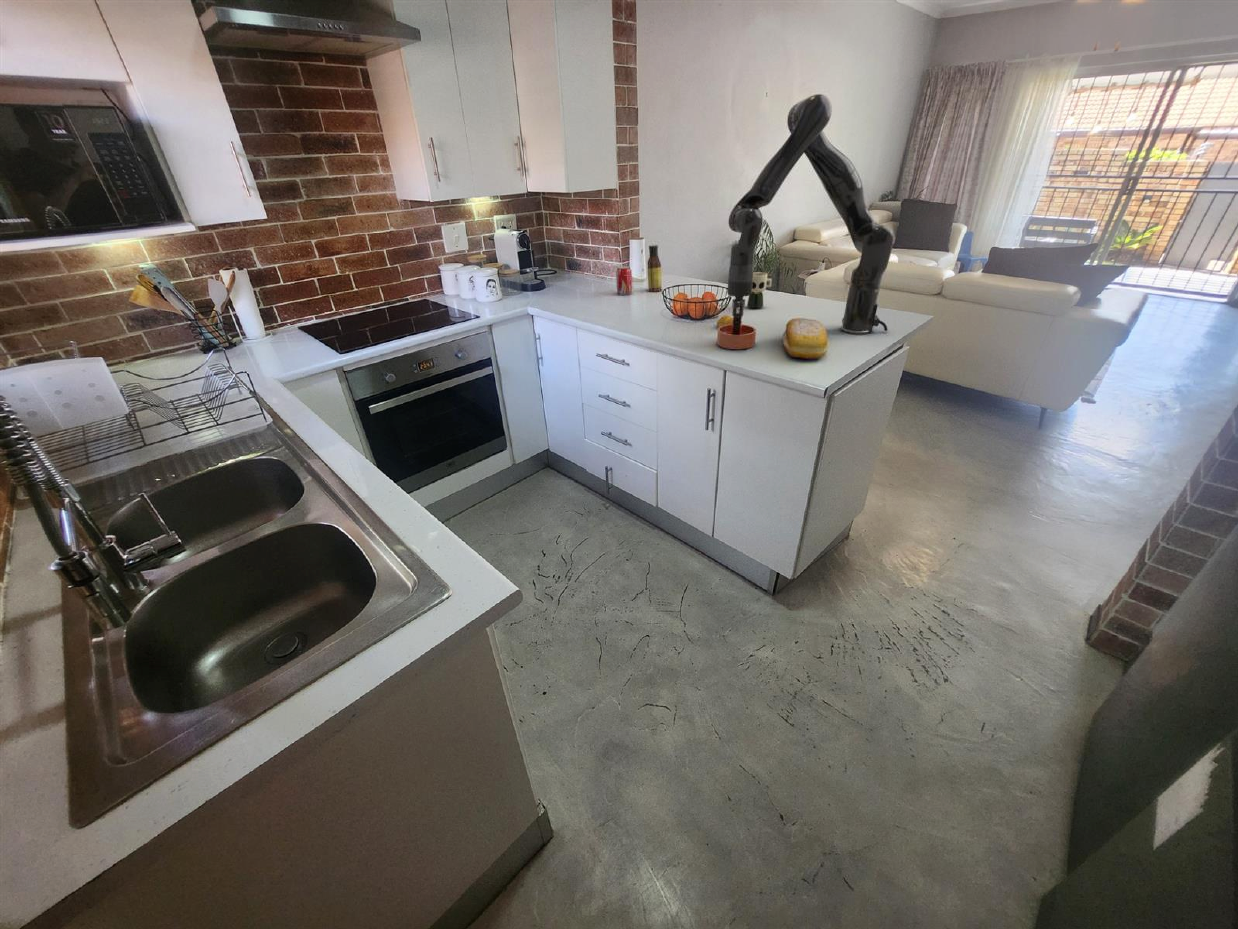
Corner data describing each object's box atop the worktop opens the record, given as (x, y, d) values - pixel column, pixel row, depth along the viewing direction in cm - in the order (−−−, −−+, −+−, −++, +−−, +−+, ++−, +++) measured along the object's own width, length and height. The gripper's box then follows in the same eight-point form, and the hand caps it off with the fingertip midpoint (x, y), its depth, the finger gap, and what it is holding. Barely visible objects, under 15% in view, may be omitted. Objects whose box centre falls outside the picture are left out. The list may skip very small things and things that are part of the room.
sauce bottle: (664, 289, 238) (664, 244, 228) (657, 292, 234) (657, 246, 224) (651, 288, 242) (651, 243, 231) (645, 291, 237) (644, 245, 227)
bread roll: (732, 332, 178) (733, 321, 176) (713, 327, 184) (713, 316, 182) (747, 327, 183) (748, 316, 181) (727, 322, 189) (728, 311, 187)
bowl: (754, 339, 171) (756, 324, 168) (754, 351, 161) (755, 335, 158) (718, 338, 174) (719, 323, 171) (715, 349, 164) (716, 334, 161)
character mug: (741, 309, 203) (744, 276, 196) (741, 305, 209) (743, 272, 202) (769, 309, 201) (773, 275, 194) (768, 305, 207) (771, 272, 200)
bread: (784, 362, 152) (788, 335, 148) (778, 334, 174) (781, 311, 170) (831, 363, 149) (836, 336, 145) (819, 335, 171) (823, 311, 167)
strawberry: (741, 332, 167) (742, 319, 164) (741, 335, 164) (742, 322, 162) (731, 331, 167) (732, 319, 165) (730, 335, 164) (731, 322, 162)
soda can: (615, 293, 237) (613, 266, 231) (629, 291, 239) (628, 264, 232) (619, 296, 231) (618, 268, 225) (634, 294, 233) (633, 267, 226)
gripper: (752, 283, 150) (747, 340, 159) (753, 273, 161) (748, 327, 170) (727, 283, 151) (723, 339, 160) (729, 273, 163) (725, 326, 172)
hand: (736, 333), depth 165 cm, fingers closed on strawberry, 3 cm apart
